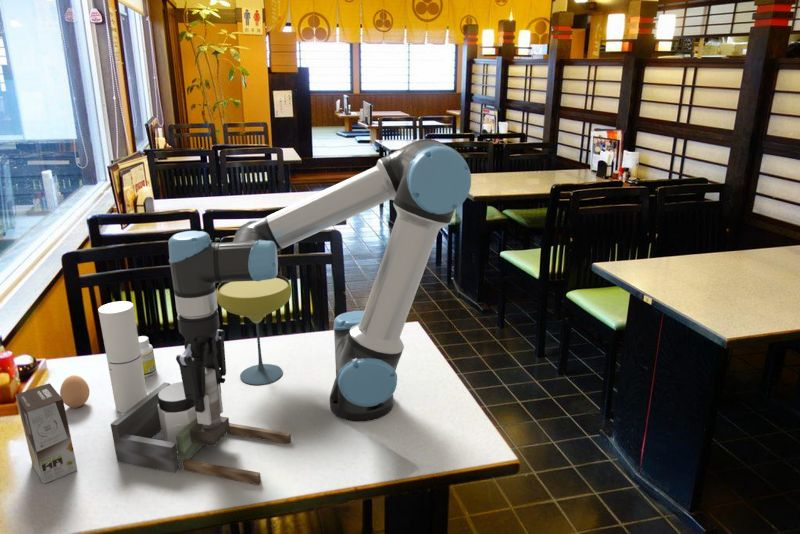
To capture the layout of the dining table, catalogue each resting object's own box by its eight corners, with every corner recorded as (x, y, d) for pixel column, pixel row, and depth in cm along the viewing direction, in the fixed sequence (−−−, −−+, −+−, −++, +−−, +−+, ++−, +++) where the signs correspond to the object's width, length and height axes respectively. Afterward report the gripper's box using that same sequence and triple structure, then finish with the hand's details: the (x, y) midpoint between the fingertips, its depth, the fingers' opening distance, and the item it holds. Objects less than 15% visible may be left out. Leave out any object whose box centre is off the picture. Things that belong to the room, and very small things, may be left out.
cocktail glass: (262, 399, 142) (253, 303, 135) (210, 380, 151) (199, 289, 144) (310, 369, 157) (305, 280, 149) (260, 353, 166) (253, 268, 158)
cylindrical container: (133, 414, 136) (116, 315, 129) (108, 409, 139) (90, 311, 131) (154, 399, 143) (140, 303, 135) (131, 394, 145) (115, 299, 137)
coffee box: (79, 469, 118) (64, 399, 113) (43, 485, 113) (26, 412, 108) (64, 449, 124) (50, 382, 119) (30, 463, 120) (13, 393, 115)
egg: (57, 409, 139) (51, 379, 136) (80, 397, 144) (74, 368, 141) (75, 415, 136) (68, 385, 134) (97, 402, 141) (91, 373, 139)
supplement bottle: (134, 370, 157) (128, 336, 154) (156, 366, 159) (151, 333, 156) (134, 379, 152) (128, 345, 149) (157, 375, 154) (151, 341, 151)
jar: (158, 454, 122) (151, 403, 119) (167, 431, 130) (159, 383, 126) (203, 449, 124) (197, 399, 120) (209, 427, 131) (203, 380, 128)
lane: (293, 437, 128) (290, 401, 125) (255, 488, 112) (251, 448, 109) (169, 417, 135) (164, 382, 133) (117, 462, 120) (110, 424, 117)
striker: (237, 435, 128) (229, 360, 122) (208, 466, 118) (198, 386, 112) (209, 430, 129) (200, 356, 124) (179, 461, 119) (167, 382, 114)
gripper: (204, 294, 122) (216, 394, 129) (152, 327, 107) (169, 438, 114) (237, 298, 120) (247, 399, 128) (189, 331, 105) (203, 443, 112)
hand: (210, 417), depth 121 cm, fingers closed on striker, 4 cm apart
